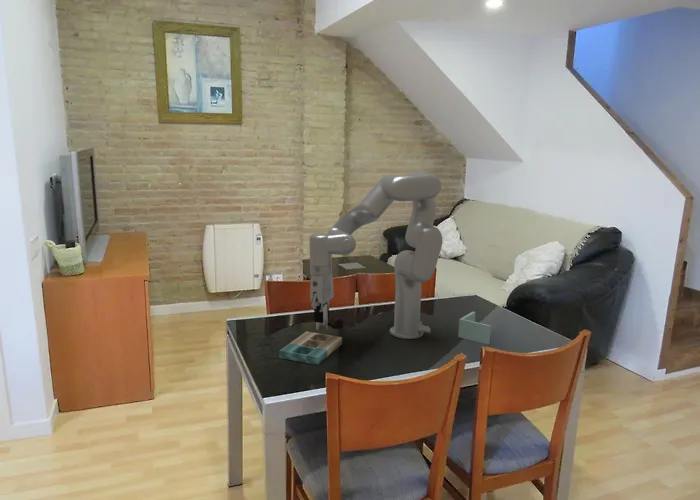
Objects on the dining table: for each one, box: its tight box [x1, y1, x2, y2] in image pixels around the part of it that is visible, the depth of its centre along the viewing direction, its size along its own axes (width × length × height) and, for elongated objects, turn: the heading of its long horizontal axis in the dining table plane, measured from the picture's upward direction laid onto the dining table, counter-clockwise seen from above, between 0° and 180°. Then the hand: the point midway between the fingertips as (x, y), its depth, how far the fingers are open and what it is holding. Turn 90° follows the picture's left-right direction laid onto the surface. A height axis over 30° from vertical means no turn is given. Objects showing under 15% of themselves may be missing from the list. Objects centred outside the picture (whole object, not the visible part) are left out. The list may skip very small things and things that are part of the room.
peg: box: [315, 303, 329, 332], centre depth 184 cm, size 4×4×9 cm
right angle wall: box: [457, 311, 492, 346], centre depth 196 cm, size 12×12×8 cm
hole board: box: [278, 331, 343, 366], centre depth 179 cm, size 14×20×2 cm
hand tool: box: [328, 313, 344, 329], centre depth 210 cm, size 19×4×5 cm, turn 31°
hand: (321, 319), depth 184 cm, fingers closed on peg, 4 cm apart
